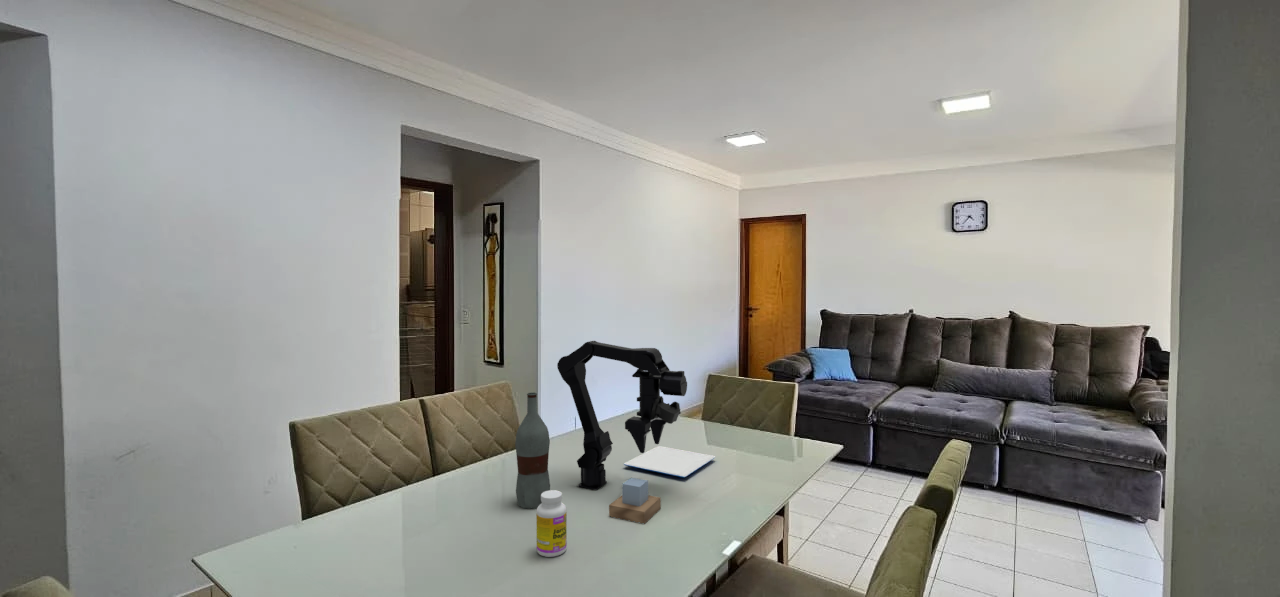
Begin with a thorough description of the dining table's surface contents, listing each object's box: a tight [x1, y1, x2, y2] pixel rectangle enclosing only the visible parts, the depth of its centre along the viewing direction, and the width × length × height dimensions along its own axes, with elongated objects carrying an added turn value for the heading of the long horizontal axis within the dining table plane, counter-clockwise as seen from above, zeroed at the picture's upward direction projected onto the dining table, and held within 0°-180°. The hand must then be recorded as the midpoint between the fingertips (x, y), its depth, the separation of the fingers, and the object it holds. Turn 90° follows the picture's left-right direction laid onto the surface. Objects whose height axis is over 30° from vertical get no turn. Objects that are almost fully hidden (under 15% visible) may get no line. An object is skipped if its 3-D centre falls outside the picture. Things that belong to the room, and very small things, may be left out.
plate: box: [623, 445, 716, 478], centre depth 180 cm, size 22×22×2 cm
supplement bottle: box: [535, 489, 568, 558], centre depth 123 cm, size 7×7×13 cm
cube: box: [621, 477, 649, 506], centre depth 143 cm, size 5×5×5 cm
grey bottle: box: [514, 391, 551, 509], centre depth 149 cm, size 9×9×30 cm
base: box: [608, 494, 662, 525], centre depth 143 cm, size 10×10×3 cm
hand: (649, 448), depth 155 cm, fingers open, 9 cm apart
